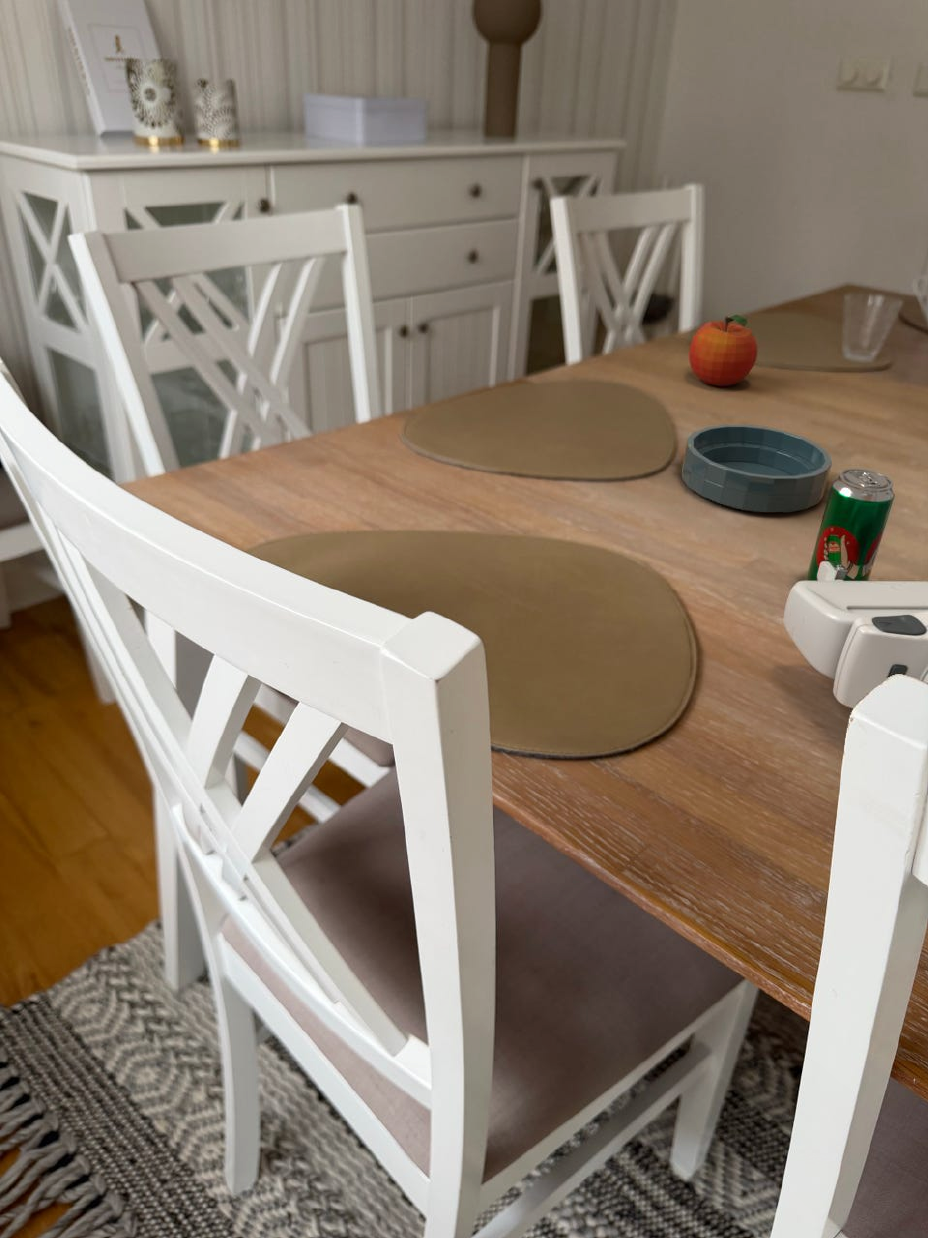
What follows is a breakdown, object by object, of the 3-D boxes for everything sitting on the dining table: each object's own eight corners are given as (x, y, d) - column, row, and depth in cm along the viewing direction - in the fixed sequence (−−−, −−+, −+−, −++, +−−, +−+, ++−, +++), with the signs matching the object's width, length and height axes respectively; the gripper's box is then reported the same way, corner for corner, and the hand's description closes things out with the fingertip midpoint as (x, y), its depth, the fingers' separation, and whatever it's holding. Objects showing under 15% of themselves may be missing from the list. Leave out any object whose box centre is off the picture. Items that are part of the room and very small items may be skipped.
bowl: (813, 469, 112) (823, 433, 109) (828, 525, 99) (839, 486, 96) (681, 454, 114) (688, 418, 112) (679, 507, 101) (686, 467, 99)
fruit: (723, 368, 144) (736, 301, 139) (764, 388, 137) (779, 318, 131) (671, 374, 140) (682, 305, 135) (709, 395, 133) (723, 323, 128)
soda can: (842, 585, 88) (877, 465, 82) (870, 614, 84) (910, 489, 77) (791, 588, 87) (823, 467, 81) (818, 617, 83) (854, 491, 77)
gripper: (1134, 630, 64) (1020, 535, 75) (840, 629, 62) (770, 533, 74) (1096, 704, 67) (993, 603, 79) (817, 705, 66) (754, 602, 77)
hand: (883, 569), depth 76 cm, fingers open, 8 cm apart
